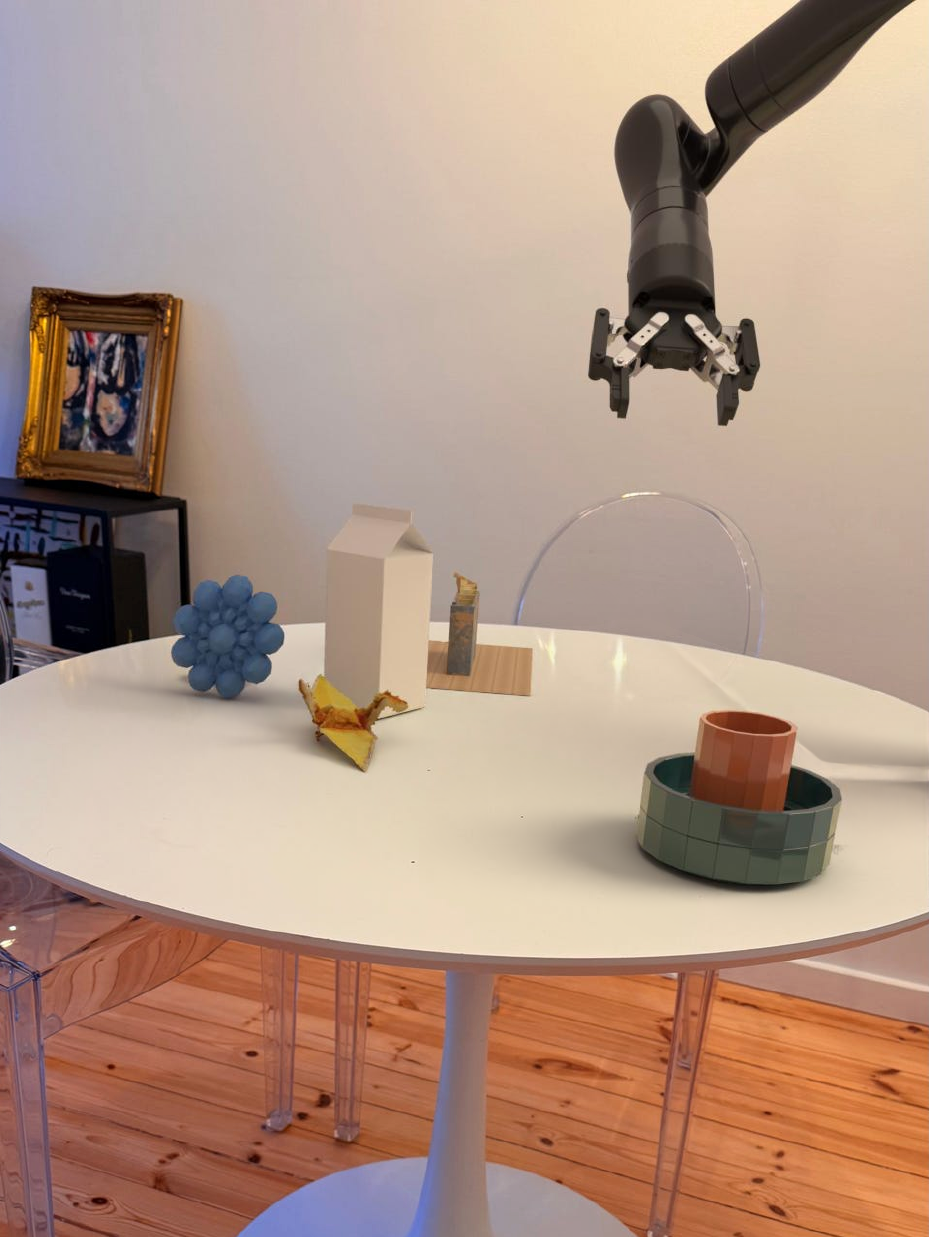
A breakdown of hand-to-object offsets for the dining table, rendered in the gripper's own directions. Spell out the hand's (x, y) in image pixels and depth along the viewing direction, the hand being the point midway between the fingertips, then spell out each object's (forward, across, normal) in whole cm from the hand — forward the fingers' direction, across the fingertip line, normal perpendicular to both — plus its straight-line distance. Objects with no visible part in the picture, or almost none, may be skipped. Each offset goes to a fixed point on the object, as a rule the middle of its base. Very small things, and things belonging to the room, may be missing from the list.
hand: (674, 415), depth 95 cm
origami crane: (+24, -27, +17) cm, 40 cm away
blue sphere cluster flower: (+15, -39, +26) cm, 49 cm away
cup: (+38, +3, +1) cm, 39 cm away
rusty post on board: (0, -16, +41) cm, 44 cm away
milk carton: (+15, -25, +26) cm, 39 cm away
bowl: (+39, +3, +2) cm, 39 cm away
